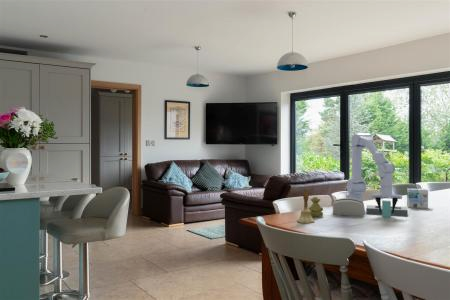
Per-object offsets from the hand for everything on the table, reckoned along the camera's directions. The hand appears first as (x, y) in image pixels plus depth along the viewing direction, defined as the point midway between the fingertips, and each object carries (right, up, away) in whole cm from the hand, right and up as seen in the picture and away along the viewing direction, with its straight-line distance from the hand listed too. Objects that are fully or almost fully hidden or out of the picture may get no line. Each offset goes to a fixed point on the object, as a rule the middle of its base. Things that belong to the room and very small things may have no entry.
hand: (386, 212), depth 195 cm
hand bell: (-44, -3, -12) cm, 46 cm away
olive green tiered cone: (-36, -3, +2) cm, 36 cm away
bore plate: (+4, -2, +10) cm, 11 cm away
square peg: (0, -2, 0) cm, 2 cm away
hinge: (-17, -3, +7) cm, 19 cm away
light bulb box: (+31, -2, +30) cm, 44 cm away
